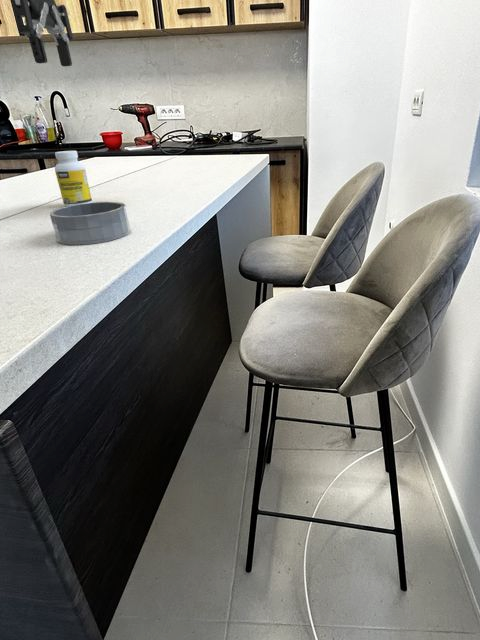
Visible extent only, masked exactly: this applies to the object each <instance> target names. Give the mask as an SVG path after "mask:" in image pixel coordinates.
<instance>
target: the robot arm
mask: <svg viewBox="0 0 480 640" xmlns="http://www.w3.org/2000/svg"><path fill="white" fill-rule="evenodd" d="M10 3H11V7H12V10H13V14H14V19H15V23H16V27H17V31H18V33H19V34H23V35H25V37H26V39H27V40H29V44H30V48H31V51H32V56H33V59H34V62H35V63H36V64H39V65H40V64H47V63H48V57H47V53H46V49H45V48H46V47H45V44H44V41H43V39H42V33H43V29H45V30H46V31H47V33H48V34H49V35H51V36H52V39H53V40H54V41H55V44H56V49H57V54H58V58H59V62H60V65H61V66H62V67H64V68H65V67H72V66H73V61H72V57H71V52H70V48H69V45H70V43H71V42H74V36H73V31H72V27H71V23H70V19H69V15H68V11H67V7H66V5H65V4H59V5H57V3H56V1H55V0H10ZM23 18H24V22H23ZM65 30H66V31H65Z"/></svg>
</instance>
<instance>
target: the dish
mask: <svg viewBox="0 0 480 640" xmlns="http://www.w3.org/2000/svg"><path fill="white" fill-rule="evenodd" d="M49 217H50V221H51V223H52V227H53V231H54V235H55V238H56V241H57V242H58V243H59V244H62V245H70V246H82V245H83V246H85V245H93V244H94V245H96V244H100V243H105V242H111V241H114V240H118V239H120V238H121V239H122V238H123V237H125V236H128V235H129V234H130V232H131V229H130V228H131V226H130V222H129V216H128V212H127V206H126V204H125V203H123V202H119V201H95V202H92V203H84V204H77V205H71V206H62V207H59V208H56V209H53V210H52V211H50V212H49Z"/></svg>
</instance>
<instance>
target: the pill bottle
mask: <svg viewBox="0 0 480 640" xmlns="http://www.w3.org/2000/svg"><path fill="white" fill-rule="evenodd" d="M54 155H55V159H56V160H57V164H55V166H54V173H55V176H56V181H57V184H58V188H59V191H60V195H61V198H62V203H63V205H64V207H67V206H71V205H77V204H84V203H93V199H92V194H91V190H90V185H89V181H88V176H87V171H86V168H85V165H84V163H82V162H80V161H79V159H78V158H79V154H78V151H77V150H63V151H55V152H54Z"/></svg>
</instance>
